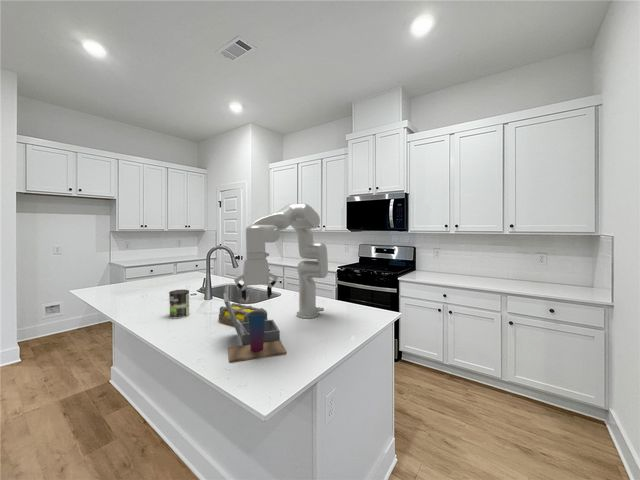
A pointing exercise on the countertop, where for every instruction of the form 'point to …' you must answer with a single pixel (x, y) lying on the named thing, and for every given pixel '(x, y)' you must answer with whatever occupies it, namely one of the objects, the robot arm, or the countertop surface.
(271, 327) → the equipment case
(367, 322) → the countertop surface
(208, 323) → the countertop surface
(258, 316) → the cup
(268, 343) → the walnut board
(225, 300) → the case lid
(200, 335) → the countertop surface
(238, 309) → the cage light
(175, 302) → the coffee can
